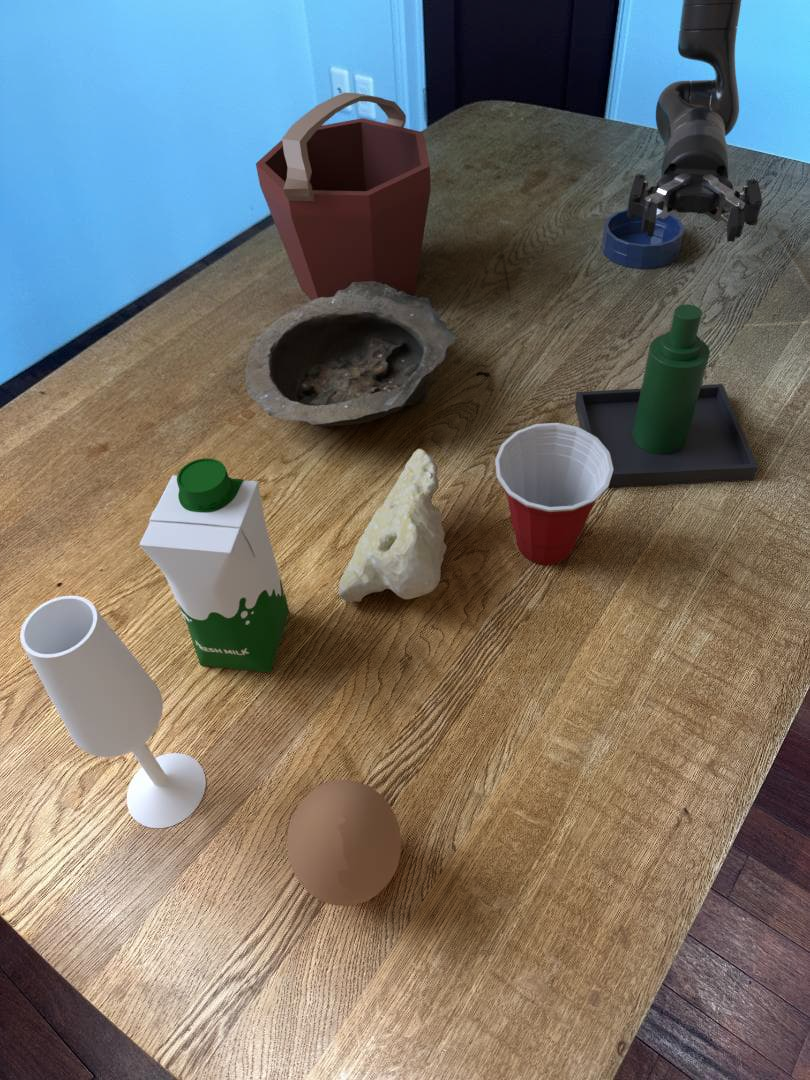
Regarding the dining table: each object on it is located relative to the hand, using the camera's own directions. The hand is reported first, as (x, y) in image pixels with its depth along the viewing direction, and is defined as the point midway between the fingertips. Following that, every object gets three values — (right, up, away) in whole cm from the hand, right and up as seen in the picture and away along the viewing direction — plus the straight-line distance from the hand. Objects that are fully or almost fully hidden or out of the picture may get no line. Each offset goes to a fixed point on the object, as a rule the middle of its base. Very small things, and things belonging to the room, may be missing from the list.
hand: (691, 231), depth 88 cm
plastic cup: (-17, -34, -4) cm, 38 cm away
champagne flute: (-51, -55, -20) cm, 78 cm away
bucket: (-38, +4, +30) cm, 49 cm away
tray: (-2, -22, +5) cm, 23 cm away
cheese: (-32, -35, -4) cm, 47 cm away
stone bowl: (-38, -16, +13) cm, 43 cm away
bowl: (+3, +9, +31) cm, 33 cm away
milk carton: (-47, -43, -10) cm, 64 cm away
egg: (-35, -59, -25) cm, 73 cm away
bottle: (-2, -22, +4) cm, 22 cm away
